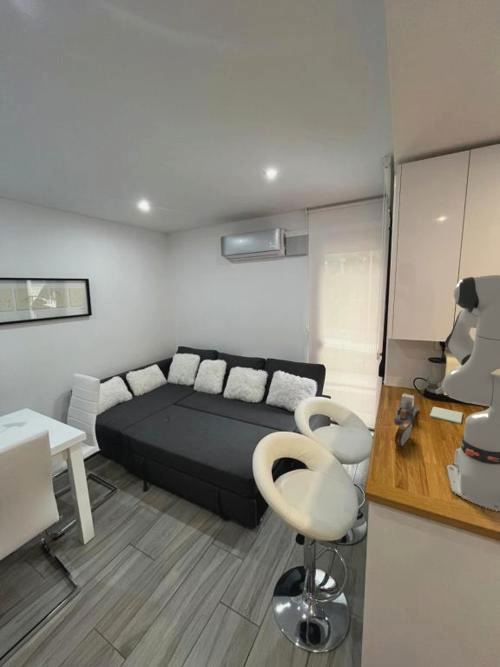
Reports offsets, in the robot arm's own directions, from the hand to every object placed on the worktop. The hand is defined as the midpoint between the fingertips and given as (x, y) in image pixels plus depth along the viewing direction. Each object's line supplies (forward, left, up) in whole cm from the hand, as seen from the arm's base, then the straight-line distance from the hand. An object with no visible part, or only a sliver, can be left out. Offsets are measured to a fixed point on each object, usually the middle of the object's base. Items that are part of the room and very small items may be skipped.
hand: (437, 389), depth 132 cm
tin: (-27, +8, -18) cm, 33 cm away
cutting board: (+13, -4, -18) cm, 22 cm away
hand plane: (0, +12, -18) cm, 22 cm away
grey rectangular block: (0, +12, -15) cm, 20 cm away
